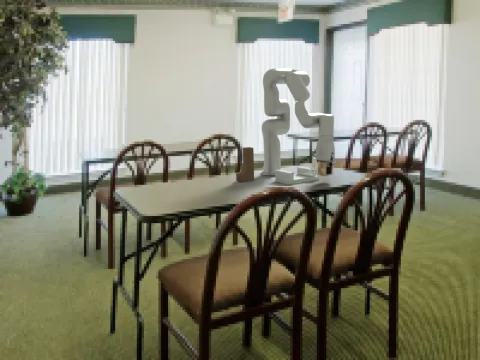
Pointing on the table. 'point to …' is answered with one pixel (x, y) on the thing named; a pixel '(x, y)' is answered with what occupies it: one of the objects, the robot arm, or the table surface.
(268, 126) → the robot arm
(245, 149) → the wooden block
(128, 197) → the table surface
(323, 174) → the maple block
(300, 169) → the slide jaw
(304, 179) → the vise base
